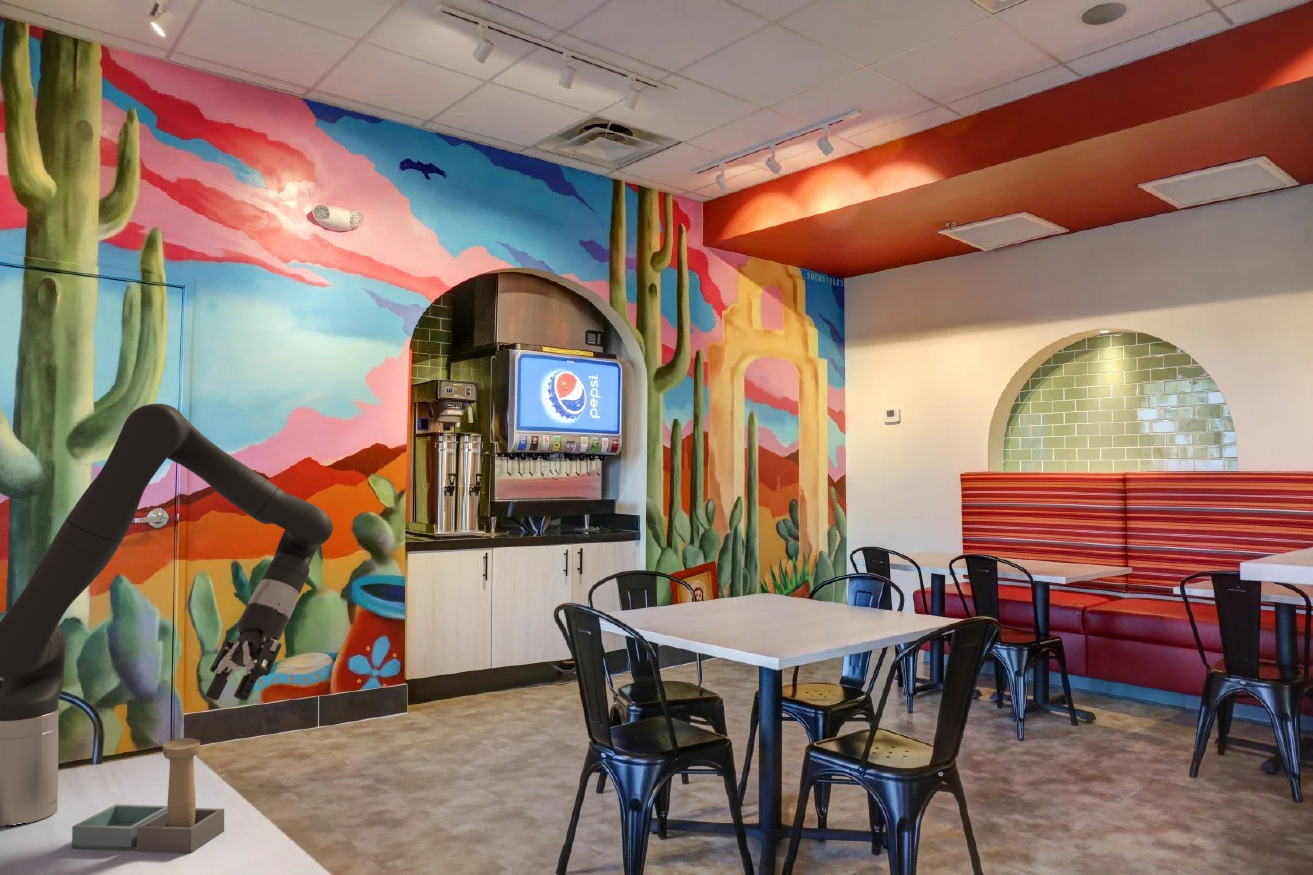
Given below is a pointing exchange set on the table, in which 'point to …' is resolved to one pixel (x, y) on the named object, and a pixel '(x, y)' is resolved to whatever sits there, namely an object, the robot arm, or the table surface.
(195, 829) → the open rectangular frame
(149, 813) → the parts tray
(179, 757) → the handle
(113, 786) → the table surface
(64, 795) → the table surface
